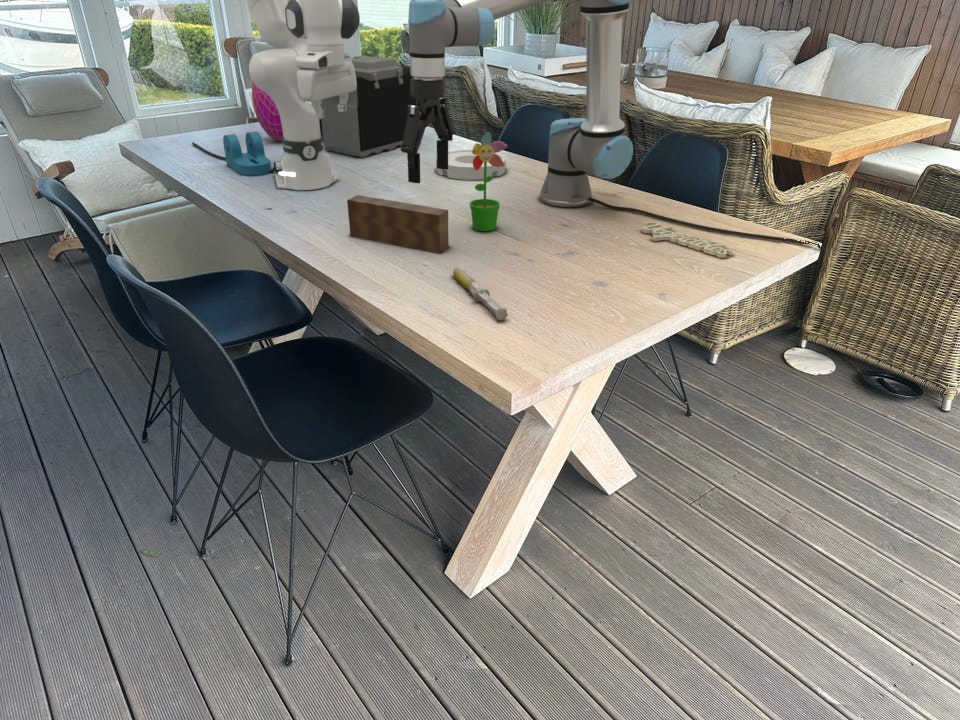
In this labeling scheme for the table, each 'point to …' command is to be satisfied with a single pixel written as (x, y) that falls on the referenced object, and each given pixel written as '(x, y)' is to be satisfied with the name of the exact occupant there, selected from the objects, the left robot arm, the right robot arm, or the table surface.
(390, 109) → the electronic device
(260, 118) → the decorative egg
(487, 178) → the potted flower
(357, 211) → the bar
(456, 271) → the syringe
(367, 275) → the table surface
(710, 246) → the decorative sign
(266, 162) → the camera mount
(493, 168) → the ashtray
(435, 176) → the table surface
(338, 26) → the left robot arm
